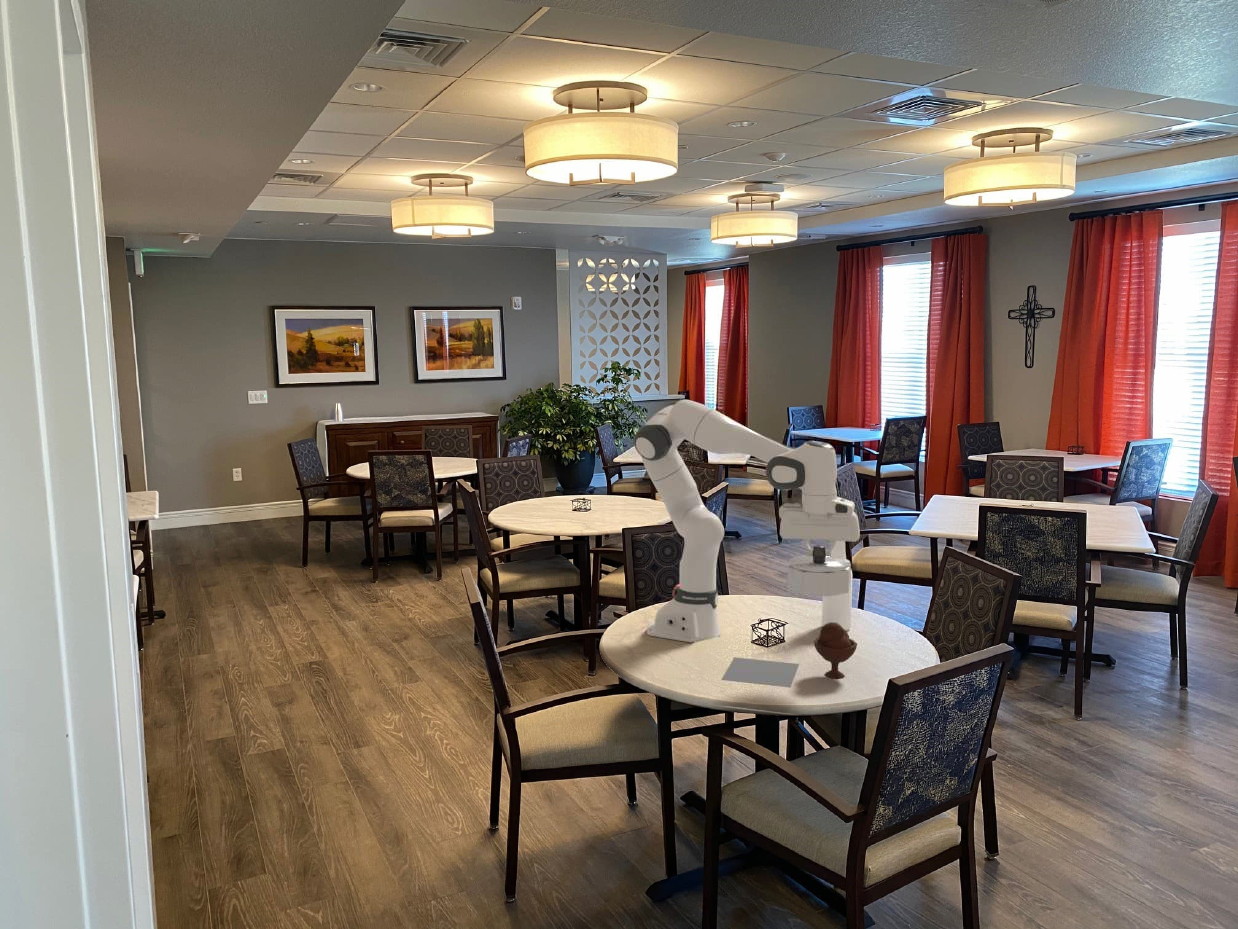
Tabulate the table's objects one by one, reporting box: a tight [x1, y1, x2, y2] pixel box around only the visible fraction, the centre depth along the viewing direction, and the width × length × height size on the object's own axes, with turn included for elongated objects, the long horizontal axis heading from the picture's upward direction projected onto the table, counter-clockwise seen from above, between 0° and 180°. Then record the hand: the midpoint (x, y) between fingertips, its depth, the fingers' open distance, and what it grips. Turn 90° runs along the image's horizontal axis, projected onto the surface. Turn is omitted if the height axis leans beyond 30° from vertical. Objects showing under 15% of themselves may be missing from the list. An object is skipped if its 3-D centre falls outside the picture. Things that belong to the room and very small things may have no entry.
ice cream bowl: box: [813, 622, 858, 680], centre depth 239 cm, size 11×11×15 cm
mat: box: [721, 656, 800, 688], centre depth 243 cm, size 18×18×1 cm
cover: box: [786, 544, 852, 597], centre depth 236 cm, size 16×16×11 cm
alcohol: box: [821, 541, 853, 632], centre depth 280 cm, size 9×9×30 cm
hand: (819, 556), depth 236 cm, fingers closed on cover, 3 cm apart
